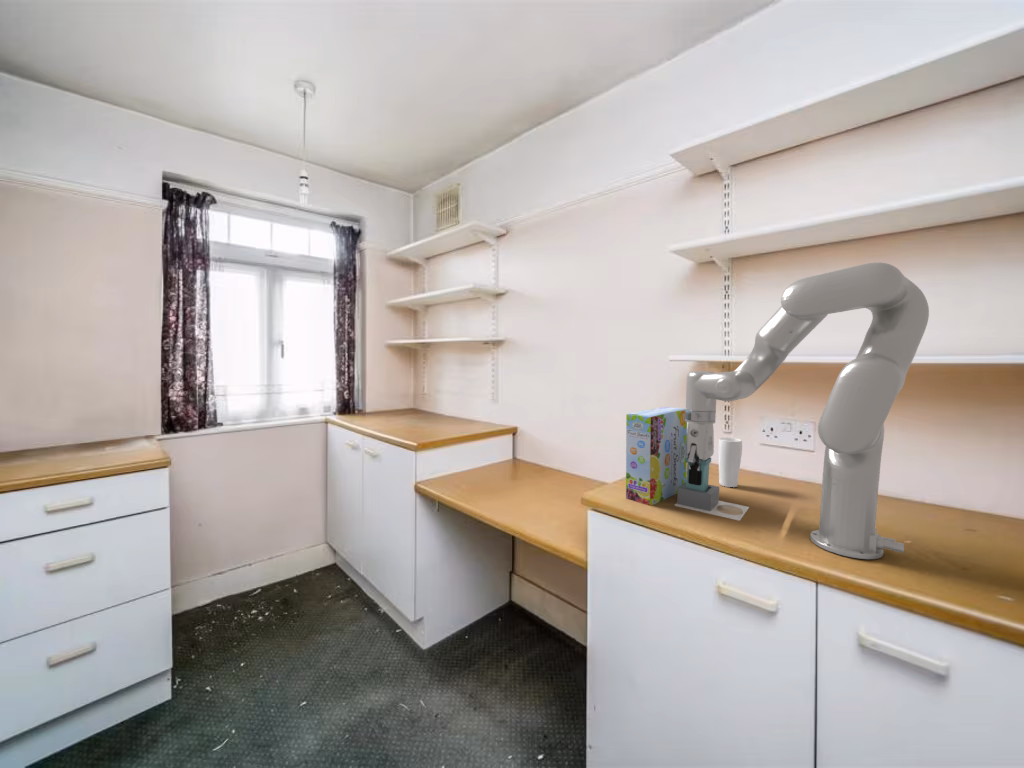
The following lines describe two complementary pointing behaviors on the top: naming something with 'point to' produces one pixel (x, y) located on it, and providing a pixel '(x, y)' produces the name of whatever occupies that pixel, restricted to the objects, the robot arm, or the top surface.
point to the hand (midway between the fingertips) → (697, 481)
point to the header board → (708, 502)
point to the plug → (704, 475)
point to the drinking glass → (729, 461)
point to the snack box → (655, 454)
